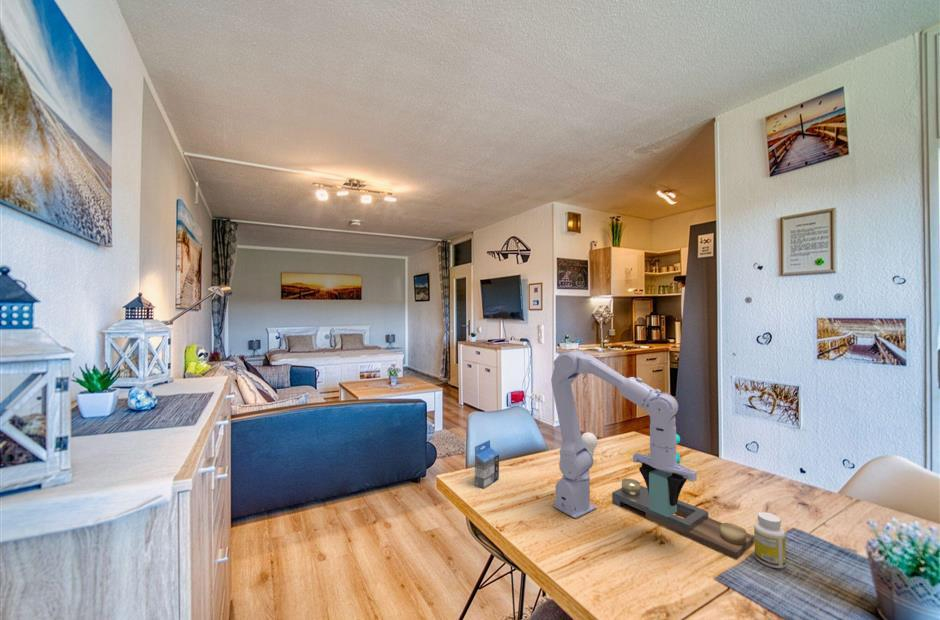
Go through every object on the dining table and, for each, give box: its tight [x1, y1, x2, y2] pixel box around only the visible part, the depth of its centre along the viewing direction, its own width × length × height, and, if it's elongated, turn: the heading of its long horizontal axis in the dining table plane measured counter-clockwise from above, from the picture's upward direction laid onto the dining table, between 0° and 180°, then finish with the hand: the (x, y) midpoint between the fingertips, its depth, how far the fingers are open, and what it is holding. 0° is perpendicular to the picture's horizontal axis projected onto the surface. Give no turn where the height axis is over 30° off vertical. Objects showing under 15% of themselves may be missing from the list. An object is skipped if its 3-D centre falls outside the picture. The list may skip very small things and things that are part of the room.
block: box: [649, 469, 677, 517], centre depth 91 cm, size 4×4×9 cm
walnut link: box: [645, 509, 755, 560], centre depth 95 cm, size 11×21×4 cm, turn 36°
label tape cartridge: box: [474, 439, 500, 489], centre depth 121 cm, size 9×4×12 cm, turn 143°
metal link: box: [611, 478, 709, 532], centre depth 103 cm, size 11×21×5 cm, turn 36°
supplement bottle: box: [753, 511, 787, 569], centre depth 83 cm, size 5×5×10 cm
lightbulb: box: [581, 431, 599, 458], centre depth 138 cm, size 6×6×11 cm
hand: (662, 500), depth 91 cm, fingers closed on block, 4 cm apart
